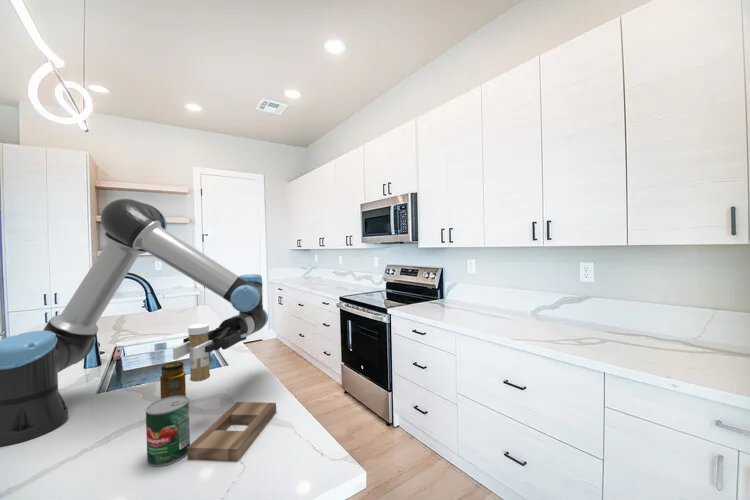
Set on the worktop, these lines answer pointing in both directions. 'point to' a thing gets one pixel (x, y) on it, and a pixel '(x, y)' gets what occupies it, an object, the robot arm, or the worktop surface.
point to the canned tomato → (167, 430)
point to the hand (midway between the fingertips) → (184, 353)
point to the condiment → (172, 380)
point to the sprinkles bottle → (201, 365)
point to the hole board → (232, 432)
